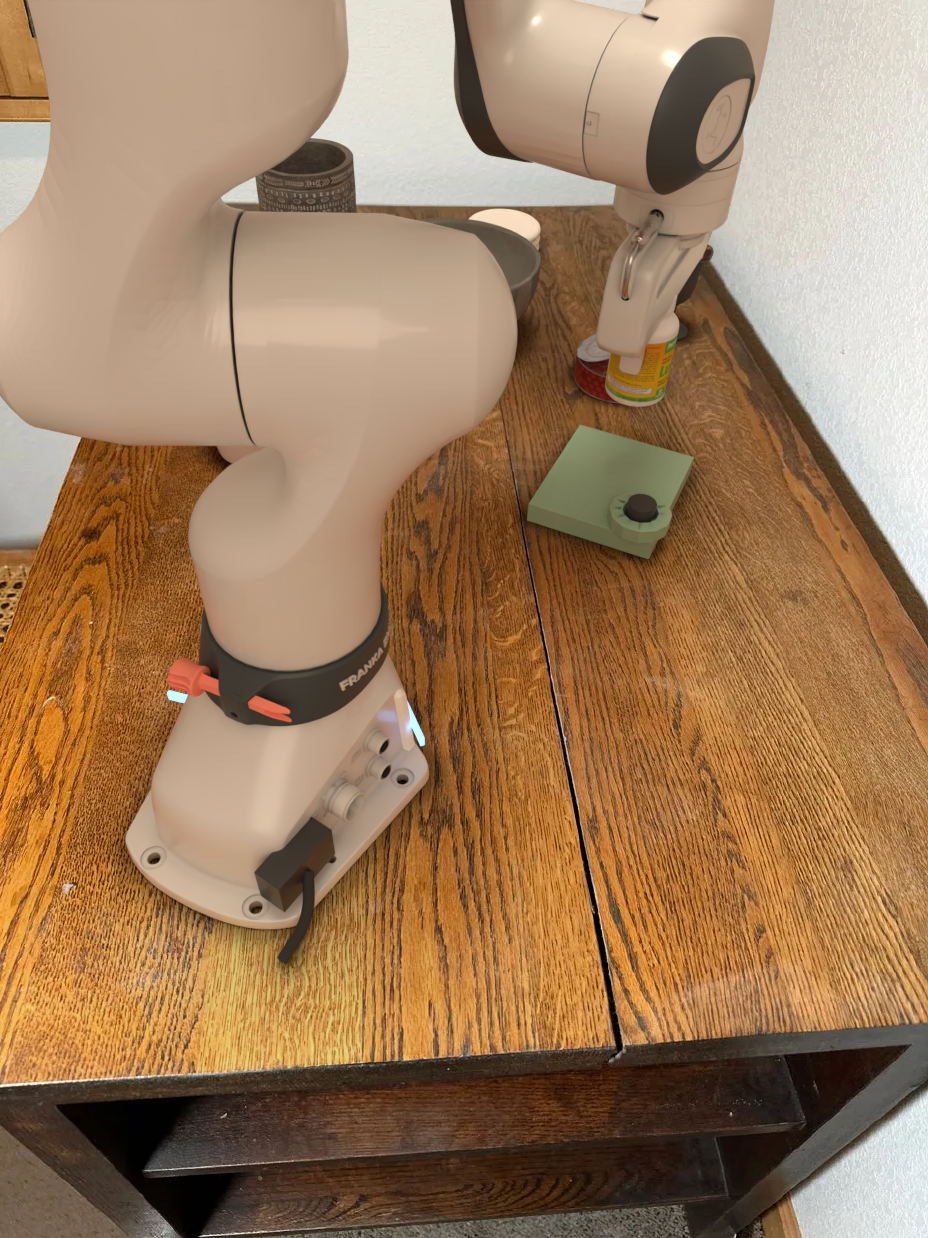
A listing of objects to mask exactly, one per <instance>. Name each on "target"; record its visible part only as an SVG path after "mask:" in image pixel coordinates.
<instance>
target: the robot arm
mask: <svg viewBox="0 0 928 1238" xmlns="http://www.w3.org/2000/svg"><path fill="white" fill-rule="evenodd" d="M26 1H27V4H28V8H29V9H28V10H29V12H30V16H31V20H32V25H33V28H34V32H35V37H36V41H37V45H38V50H39V54H40V59H41V63H42V68H43V72H44V76H45V82H46V88H47V94H48V101H49V119H50V122H49V123H50V124H49V125H50V126H49V127H50V129H49V144H48V153H47V158H46V162H45V167H44V170H43V172H42V173H43V174H42V176H41V179H40V182H39V184H38V186H37V188H36V190H35V193H34V195H33V197H32V199H31V200H30V201H29V203H28V205H26V208H25V209H24V210H23V211H22V212H21V213H20V215H18V217H16V219H15V220H14V221H13V222H11V223H10V224H8V226H7V227H5V228H4V229H3V230H2V231H1V232H0V398H1V399H2V400H3V401H4V403H5V404H6V405H7V407H9V408H10V410H11V411H13V412H14V413H15V415H17V416H18V417H19V418H20V419H21V420H22V421H23V422H25V424H28V425H29V426H31V427H33V428H36V429H41V430H47V431H50V432H56V433H59V434H65V435H68V436H69V435H70V436H74V437H78V438H84V439H88V440H95V441H100V442H104V443H110V444H116V445H122V446H127V447H128V446H130V447H133V446H134V447H216V446H257V447H259V448H260V449H258V450H256V451H254V452H252V453H250V454H248V455H246V456H244V457H242V458H240V459H239V460H237V461H235V462H234V463H230V464H229V465H228V466H227V467H225V468H224V469H223V470H222V471H221V472H220V473H219V474H218V475H217V476H216V477H215V478H214V479H213V480H212V481H211V482H210V483H209V484H208V485H207V487H205V488H204V490H203V491H202V492H201V494H200V496H199V497H198V499H197V500H196V502H195V504H194V507H193V509H192V511H191V515H190V517H189V523H188V531H187V532H188V533H187V542H188V548H189V549H188V550H189V553H190V557H191V560H192V564H193V565H192V566H193V568H194V572H195V576H196V580H197V584H198V588H199V592H200V596H201V599H202V604H203V609H202V615H201V622H200V624H199V648H198V649H199V650H198V661H197V663H196V662H194V661H193V660H192V659H190V658H187V657H183V656H181V657H179V658H177V659H176V660H175V661H174V662H173V663H172V665H171V666H170V668H169V670H168V675H167V679H166V680H167V685H168V686H169V687H170V688H172V689H175V690H178V691H183V692H186V693H182V692H178V691H174V690H170V689H169V690H168V691H167V693H166V695H167V698H168V700H169V701H173V702H177V703H182V706H181V709H180V711H179V713H178V715H177V718H176V721H175V723H174V725H173V728H172V730H171V732H170V734H169V736H168V739H167V742H166V744H165V746H164V747H163V748H164V749H163V751H162V752H161V755H160V758H159V759H158V762H157V765H156V767H155V769H154V772H153V775H152V778H151V786H150V787H151V788H150V790H149V791H148V792H147V795H146V796H145V798H144V800H143V802H142V804H141V806H140V807H139V809H138V811H137V813H136V814H135V816H134V819H133V820H132V822H131V823H130V826H129V828H128V830H127V831H126V834H125V840H124V841H125V846H126V849H127V852H128V854H129V857H130V859H131V861H132V862H133V864H134V865H135V867H136V869H138V871H139V872H140V873H141V874H142V876H143V877H144V878H145V879H146V880H147V881H148V882H150V884H152V885H153V886H154V887H155V888H157V889H158V890H159V891H161V893H164V894H165V895H166V896H167V897H170V898H171V899H173V900H175V901H177V902H179V903H180V904H181V905H184V906H186V907H187V908H189V909H191V910H193V911H195V912H198V913H200V914H203V915H205V916H207V917H210V918H211V919H214V920H217V921H220V922H223V923H226V924H229V925H234V926H238V927H242V928H247V929H248V928H249V929H255V930H279V929H289V928H294V927H295V928H294V930H293V931H292V933H291V934H290V936H289V938H288V939H287V940H286V942H285V944H284V946H283V947H282V949H281V950H280V952H279V953H278V955H277V960H278V961H279V962H281V963H283V964H290V961H291V959H292V957H293V956H294V954H295V953H296V951H297V949H298V948H299V947H300V945H301V944H302V942H303V941H304V939H305V937H306V934H307V933H308V930H309V928H310V926H311V922H312V920H313V916H314V911H315V908H316V907H317V906H318V905H319V904H320V902H321V901H322V900H323V899H324V898H325V897H326V896H327V895H328V894H329V893H330V891H331V890H332V889H333V888H334V887H335V885H336V884H337V883H338V882H339V881H340V880H341V879H342V878H343V877H344V876H345V874H347V872H348V871H349V870H350V869H351V868H352V867H353V866H354V864H355V863H356V862H357V861H358V860H359V859H360V858H361V857H362V856H363V854H365V852H366V851H367V850H368V849H369V848H370V847H371V846H372V844H374V842H375V841H376V840H377V839H378V838H379V837H380V835H381V834H383V832H384V831H385V830H386V829H387V827H389V825H390V824H391V823H392V822H393V821H394V820H395V819H396V818H397V817H398V815H399V814H400V813H401V812H402V811H403V810H404V809H405V807H407V805H409V803H411V801H412V800H413V798H414V797H415V796H416V795H417V794H418V793H419V792H420V791H421V790H422V788H424V786H425V785H426V784H427V782H428V781H429V779H430V768H429V764H428V761H427V759H426V756H425V755H424V753H423V751H422V749H420V747H423V746H425V745H426V741H425V740H426V739H425V735H424V733H423V731H422V729H421V727H420V724H419V722H418V721H417V718H416V716H415V714H414V712H413V709H412V707H411V705H410V703H409V701H408V697H407V693H406V691H405V687H404V686H403V683H402V681H401V678H400V675H399V674H398V671H397V669H396V667H395V665H394V663H393V660H392V657H391V654H390V652H389V650H390V645H391V628H392V620H391V609H390V607H389V603H388V597H387V592H386V589H385V587H384V585H383V583H382V581H381V547H382V536H383V535H382V534H383V525H384V522H385V521H384V520H385V517H386V515H387V514H386V513H387V511H388V509H389V507H390V505H391V503H392V501H393V499H394V498H395V496H396V494H397V493H398V491H399V490H400V488H401V487H402V486H403V485H404V483H405V482H406V481H407V479H408V478H409V477H411V475H412V474H413V473H414V472H415V471H416V470H417V469H418V468H419V467H420V466H421V465H422V464H423V463H424V462H425V461H426V460H428V459H429V458H430V457H432V456H433V455H434V454H435V453H437V452H438V451H440V450H442V448H444V447H445V446H447V445H449V444H450V443H452V442H454V441H455V440H457V439H459V438H461V437H463V436H465V435H467V434H468V433H470V432H472V431H474V430H475V429H476V428H477V427H478V426H479V425H480V424H481V423H482V422H483V421H484V420H485V419H486V418H487V416H489V415H490V413H491V412H492V410H493V409H494V408H495V407H496V405H497V403H499V400H500V399H501V397H502V395H503V393H504V391H505V389H506V387H507V385H508V382H509V379H510V377H511V374H512V371H513V367H514V364H515V359H516V355H517V354H516V353H517V349H518V321H517V318H516V310H515V305H514V301H513V297H512V293H511V291H510V288H509V285H508V282H507V280H506V278H505V276H504V273H503V271H502V269H501V268H500V266H499V264H498V263H497V261H496V259H495V258H494V256H493V255H492V254H491V252H490V251H489V250H488V248H487V247H486V246H485V245H484V244H483V243H482V241H481V240H480V239H479V238H478V237H477V236H476V235H474V234H472V233H468V232H464V231H460V230H456V229H452V228H448V227H444V226H440V225H436V224H432V223H428V222H423V221H418V220H419V219H413V218H409V217H404V216H399V215H394V214H389V213H384V212H357V213H332V212H260V211H251V210H250V211H248V210H246V209H243V208H235V207H232V206H230V205H228V204H226V203H225V202H224V201H223V199H222V197H223V196H225V195H226V194H227V193H229V192H230V191H231V190H234V188H237V187H238V186H240V185H242V184H244V183H246V182H248V181H250V180H251V179H253V178H255V177H256V176H258V175H260V174H261V173H263V172H265V171H267V170H269V169H271V168H273V167H275V166H276V165H278V164H279V163H281V162H283V161H284V160H285V159H287V158H288V157H289V156H291V155H292V154H293V153H295V152H296V151H297V150H298V149H300V148H301V147H302V146H303V145H304V144H305V143H306V142H307V141H308V140H309V139H310V138H313V136H314V135H315V134H316V133H317V132H318V130H319V129H320V128H321V127H322V126H323V125H324V123H325V122H326V121H327V120H328V118H329V116H330V115H331V113H332V112H333V110H334V108H335V107H336V104H337V102H338V100H339V97H340V96H341V93H342V91H343V88H344V84H345V81H346V76H347V72H348V66H349V58H350V56H349V55H350V50H349V49H350V48H349V35H348V33H349V32H348V20H347V19H348V18H347V3H346V0H26ZM449 1H450V9H451V15H452V23H453V24H452V25H453V30H454V31H453V32H454V53H453V54H454V55H453V91H454V93H453V94H454V99H455V104H456V108H457V111H458V115H459V117H460V119H461V122H462V124H463V126H464V128H465V131H466V133H467V134H468V135H469V137H470V139H471V140H472V142H473V144H474V145H475V146H476V148H477V149H478V150H479V151H480V152H482V153H483V154H484V155H487V156H490V157H494V158H498V159H499V158H500V159H505V160H510V161H516V162H520V163H521V162H522V163H529V164H532V163H534V164H538V165H541V166H545V167H548V168H550V169H555V170H559V171H562V172H565V173H569V174H571V175H575V176H578V177H581V178H582V177H583V178H585V179H589V180H593V181H597V182H598V181H599V182H604V183H608V184H611V185H615V188H614V193H613V194H614V196H613V201H612V203H613V204H612V206H613V210H614V212H615V213H616V215H617V216H618V217H619V218H620V219H621V220H622V221H624V222H626V224H625V231H626V232H627V234H628V236H626V238H625V239H624V240H623V242H622V243H621V244H620V245H619V247H618V248H617V250H616V251H615V253H614V255H613V257H612V260H611V263H610V266H609V269H608V273H607V277H606V282H605V284H604V285H605V286H604V290H603V295H602V300H601V305H600V311H599V316H598V321H597V326H596V332H595V333H596V342H597V345H598V347H599V349H601V350H603V351H606V352H610V353H613V354H616V355H621V357H620V364H619V369H620V370H621V371H622V372H624V373H627V374H631V375H637V374H638V373H639V372H640V370H641V369H642V367H643V365H644V362H645V357H646V352H647V350H646V349H645V347H646V345H647V344H648V342H649V340H650V339H651V337H652V336H653V334H654V332H655V331H656V329H657V328H658V326H659V324H660V323H661V321H662V320H663V318H664V316H665V315H666V313H667V312H668V310H669V309H670V307H671V305H672V303H673V300H674V298H675V297H676V295H677V296H678V294H679V293H680V291H681V289H682V288H683V286H684V285H685V283H686V281H687V280H688V278H689V277H690V275H691V273H692V272H693V270H694V269H695V267H696V266H697V264H698V262H699V261H700V259H701V258H702V256H703V254H704V252H705V250H706V247H707V245H709V242H710V240H711V238H712V235H713V231H716V230H717V229H719V228H721V227H722V226H723V225H724V224H725V223H726V222H727V220H728V217H729V214H730V209H731V205H732V202H733V201H732V200H733V196H734V192H735V188H736V185H737V180H738V176H739V172H740V168H741V164H742V159H743V155H744V145H745V140H744V129H745V126H746V123H747V118H748V114H749V110H750V108H751V106H752V105H753V102H754V100H755V99H756V97H757V94H758V91H759V88H760V84H761V80H762V75H763V70H764V66H765V62H766V61H765V60H766V56H767V51H768V48H769V47H768V46H769V41H770V37H771V29H772V23H773V17H774V9H775V1H776V0H645V2H644V6H643V9H641V10H640V12H641V13H633V12H627V11H623V10H620V9H619V10H618V9H614V8H609V7H604V6H600V5H595V4H591V3H586V2H583V1H577V0H449ZM414 734H415V738H416V740H417V741H418V744H419V746H420V747H419V746H418V744H417V742H416V741H415V738H414ZM401 781H406V783H403V784H401V783H398V782H401ZM155 859H159V861H158V862H156V863H151V862H152V861H153V860H155ZM257 907H260V908H261V910H260V911H259V912H257V913H253V912H252V910H253V909H255V908H257Z"/></svg>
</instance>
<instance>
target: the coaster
mask: <svg viewBox="0 0 928 1238" xmlns="http://www.w3.org/2000/svg"><path fill="white" fill-rule="evenodd" d="M468 219H470V220H477V221H483V222H487V223H491V224H495V225H498V226H501V227H504V228H507V229H509V230H512V231H514V232H516V233H518V234H520V235H521V236H523V237H525V238H526V239H528V240H529V241H530V242H531V243H532V244H533V245H534V246H535V247H536V248H537V250H538V251H539V250H540V241H541V235H540V234H541V224H540V223H539V221H538V220H537V219H536V218H535V217H533V216H532V215H530V214H529V213H526V212H523V211H520V210H516V209H510V208H488V209H484V210H481V211H478V212H476V213H474V214H472V215H470V217H469V218H468Z"/></svg>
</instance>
